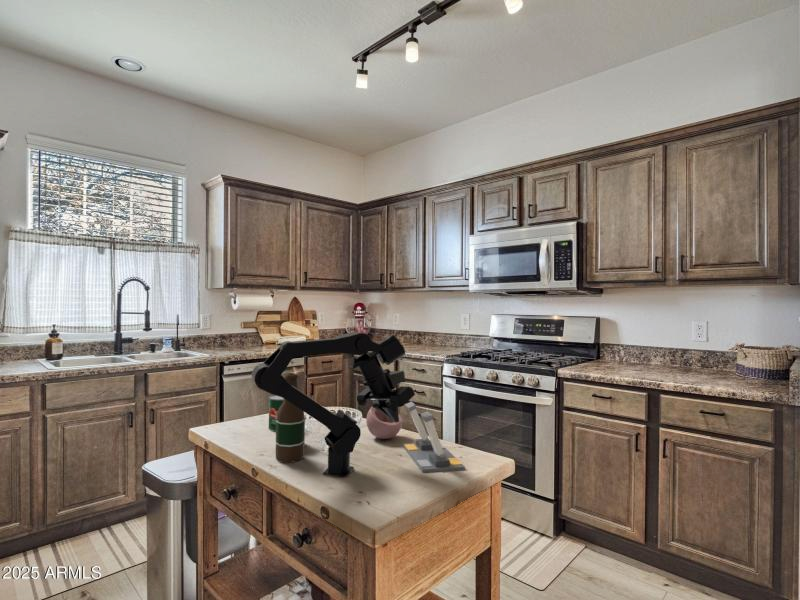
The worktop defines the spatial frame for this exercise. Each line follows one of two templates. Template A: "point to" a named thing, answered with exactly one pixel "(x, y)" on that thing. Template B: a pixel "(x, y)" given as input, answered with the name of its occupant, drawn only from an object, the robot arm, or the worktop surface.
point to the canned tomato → (274, 410)
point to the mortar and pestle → (382, 424)
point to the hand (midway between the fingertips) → (397, 421)
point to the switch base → (426, 457)
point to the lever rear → (417, 421)
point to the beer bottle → (289, 429)
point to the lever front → (432, 433)
